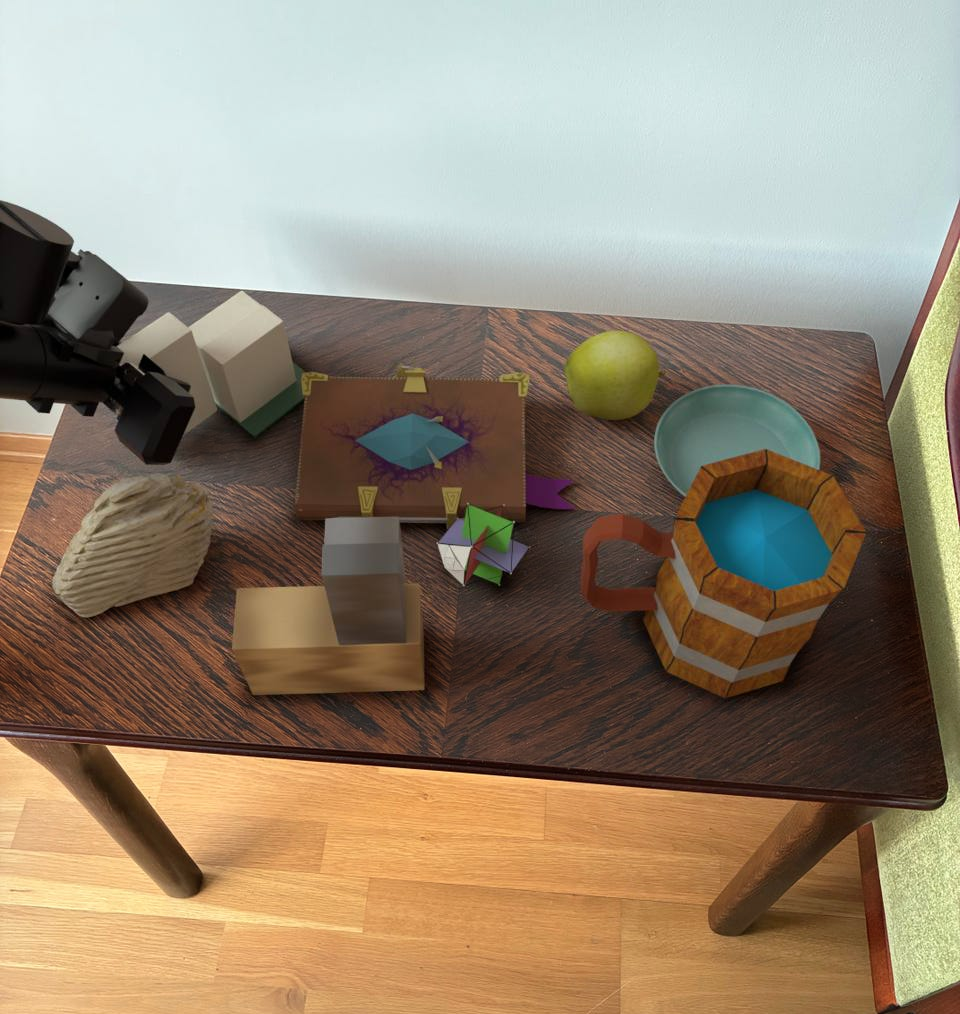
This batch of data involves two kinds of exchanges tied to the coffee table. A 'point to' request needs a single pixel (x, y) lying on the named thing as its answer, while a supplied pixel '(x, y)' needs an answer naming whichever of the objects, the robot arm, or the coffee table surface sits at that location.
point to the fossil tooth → (136, 544)
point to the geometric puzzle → (480, 546)
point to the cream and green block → (248, 363)
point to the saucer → (728, 431)
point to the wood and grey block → (337, 620)
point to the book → (416, 448)
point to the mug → (737, 570)
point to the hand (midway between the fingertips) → (175, 379)
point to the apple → (612, 375)
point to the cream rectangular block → (173, 360)
